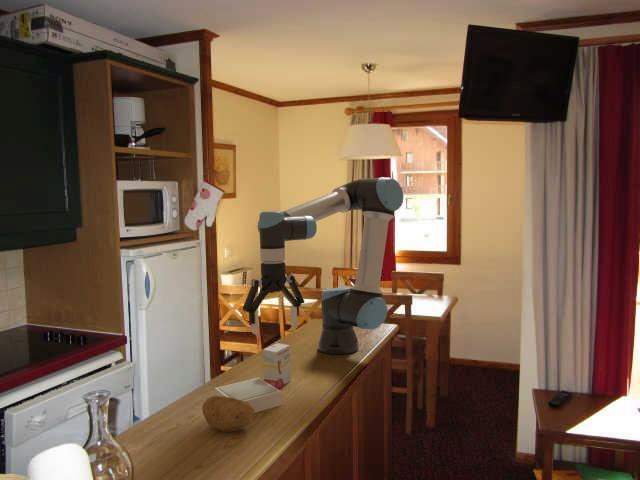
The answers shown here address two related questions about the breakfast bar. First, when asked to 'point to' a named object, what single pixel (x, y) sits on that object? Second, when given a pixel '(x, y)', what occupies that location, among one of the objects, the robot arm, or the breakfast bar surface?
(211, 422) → the potato
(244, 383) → the block
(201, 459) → the breakfast bar surface
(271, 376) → the ink box
